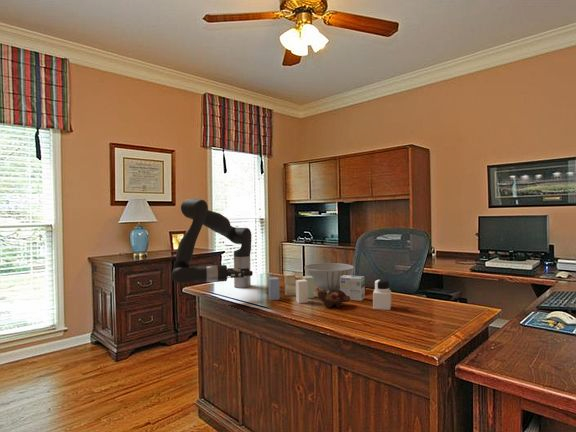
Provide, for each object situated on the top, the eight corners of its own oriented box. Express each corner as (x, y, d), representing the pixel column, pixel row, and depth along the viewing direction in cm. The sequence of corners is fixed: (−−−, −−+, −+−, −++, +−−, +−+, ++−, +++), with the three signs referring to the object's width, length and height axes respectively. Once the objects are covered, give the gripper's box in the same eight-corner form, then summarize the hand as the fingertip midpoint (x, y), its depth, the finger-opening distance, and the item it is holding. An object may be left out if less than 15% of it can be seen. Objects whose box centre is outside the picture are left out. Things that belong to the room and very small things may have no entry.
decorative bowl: (342, 296, 183) (342, 272, 183) (295, 291, 197) (295, 268, 197) (361, 286, 206) (361, 264, 206) (318, 282, 220) (318, 261, 220)
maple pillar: (284, 293, 191) (284, 274, 190) (293, 293, 192) (292, 274, 192) (287, 295, 186) (287, 275, 186) (295, 295, 188) (295, 275, 187)
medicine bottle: (391, 306, 164) (390, 279, 164) (390, 310, 158) (389, 282, 157) (374, 305, 167) (374, 278, 166) (372, 309, 160) (372, 281, 160)
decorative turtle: (313, 305, 167) (314, 287, 168) (343, 304, 172) (344, 287, 172) (321, 309, 158) (322, 290, 159) (353, 308, 163) (354, 290, 163)
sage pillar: (302, 296, 185) (302, 276, 185) (311, 295, 186) (310, 275, 186) (305, 298, 181) (305, 277, 180) (314, 297, 182) (313, 277, 182)
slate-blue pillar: (268, 298, 182) (268, 277, 182) (277, 297, 183) (277, 277, 183) (270, 300, 178) (270, 279, 178) (279, 299, 179) (279, 278, 179)
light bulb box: (365, 298, 180) (364, 275, 180) (361, 301, 174) (361, 278, 173) (343, 296, 184) (343, 274, 184) (339, 299, 178) (339, 276, 178)
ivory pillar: (296, 301, 175) (295, 280, 175) (304, 300, 177) (304, 279, 176) (298, 303, 171) (298, 281, 171) (307, 302, 172) (307, 281, 172)
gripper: (217, 267, 166) (253, 265, 170) (214, 263, 179) (248, 262, 184) (217, 284, 166) (253, 282, 170) (215, 279, 179) (248, 277, 184)
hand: (250, 271), depth 177 cm, fingers open, 8 cm apart
